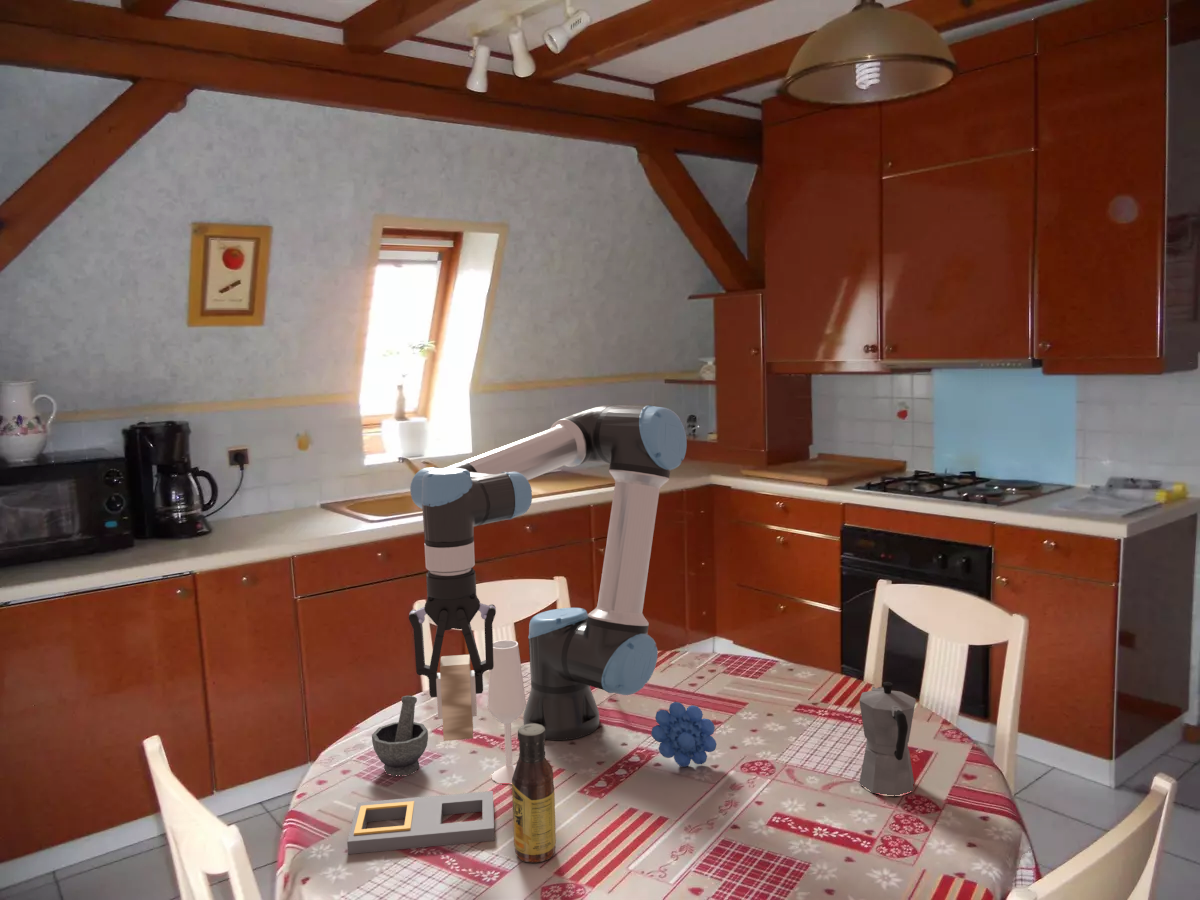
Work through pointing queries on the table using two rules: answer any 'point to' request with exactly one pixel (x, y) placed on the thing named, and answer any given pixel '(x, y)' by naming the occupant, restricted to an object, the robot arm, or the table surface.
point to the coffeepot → (887, 740)
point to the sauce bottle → (533, 798)
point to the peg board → (421, 822)
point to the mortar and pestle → (401, 741)
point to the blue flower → (684, 734)
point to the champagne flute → (506, 697)
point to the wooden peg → (456, 697)
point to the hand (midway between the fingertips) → (457, 713)
